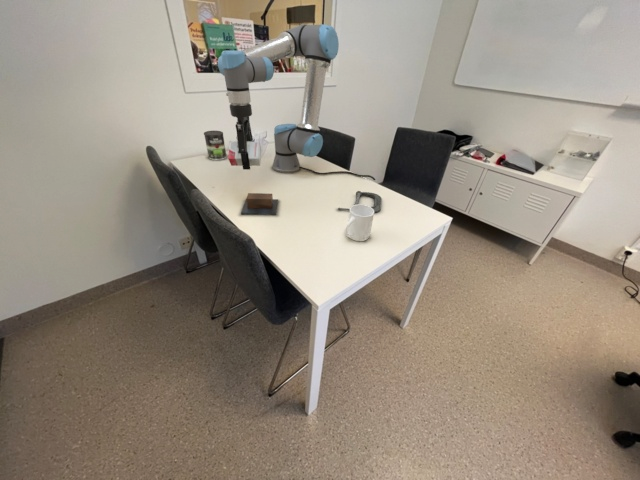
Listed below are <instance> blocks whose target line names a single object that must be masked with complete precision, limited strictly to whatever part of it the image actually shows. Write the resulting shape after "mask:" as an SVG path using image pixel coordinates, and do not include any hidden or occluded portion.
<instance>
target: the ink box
mask: <svg viewBox="0 0 640 480" xmlns="http://www.w3.org/2000/svg"><path fill="white" fill-rule="evenodd" d="M238 152H239V149H238V140H235V141H233V140H232V141H231V140H230V141H229V147H228V154H227V155H228V156H227V159H228V161H229V163H230V166H232V167H235V166H236V167H243V166H242V159H241V153H238ZM247 152H248V156H249V163H250V167H259V166H261V161H262V146H261V142H260V141H254V140H253V141H247Z"/></svg>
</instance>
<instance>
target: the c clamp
mask: <svg viewBox="0 0 640 480" xmlns="http://www.w3.org/2000/svg"><path fill="white" fill-rule="evenodd" d="M355 196H356V198H355V202H354V204H353V205H358V204H359V202H360V197H363V196H364V197H369V198H372V199H374V201H373V206H370V207H371V208H372V209H373V210H374V214H375V213H379V212H380V211H381V209H382V197H381V196H380V195H379V194H377V193H374V192H370V191H369V192H367V191H360V190H357V191H356V192H355ZM337 209H338V210H341V211H350V208H344V207H338V208H337Z"/></svg>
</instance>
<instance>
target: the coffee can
mask: <svg viewBox="0 0 640 480" xmlns="http://www.w3.org/2000/svg"><path fill="white" fill-rule="evenodd" d="M203 136H204V139H205V146H206V151H207V156H208V159H210V160H211V161H222V160H225V159H227V158H228V156H227V151H226V144H225V138H224V132H223V131H221V130H207V131H204V132H203Z"/></svg>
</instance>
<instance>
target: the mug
mask: <svg viewBox="0 0 640 480" xmlns="http://www.w3.org/2000/svg"><path fill="white" fill-rule="evenodd" d="M371 207H372V206H370V205H368V204H367V205H366V204H359V203H358V205H354V204H353V205H352V206H350V207H349V209H350V210H348V211H349V212H348V219H347V224H346V226H345V236H346V237H347V238H349V239H351V240H352V241H355V242H365V241H367V240H368V239H369V238H370V237H371V231H372V226H373V221H374V217H375V216H374V215H375V213H374V210H373V209H372V208H371Z"/></svg>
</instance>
